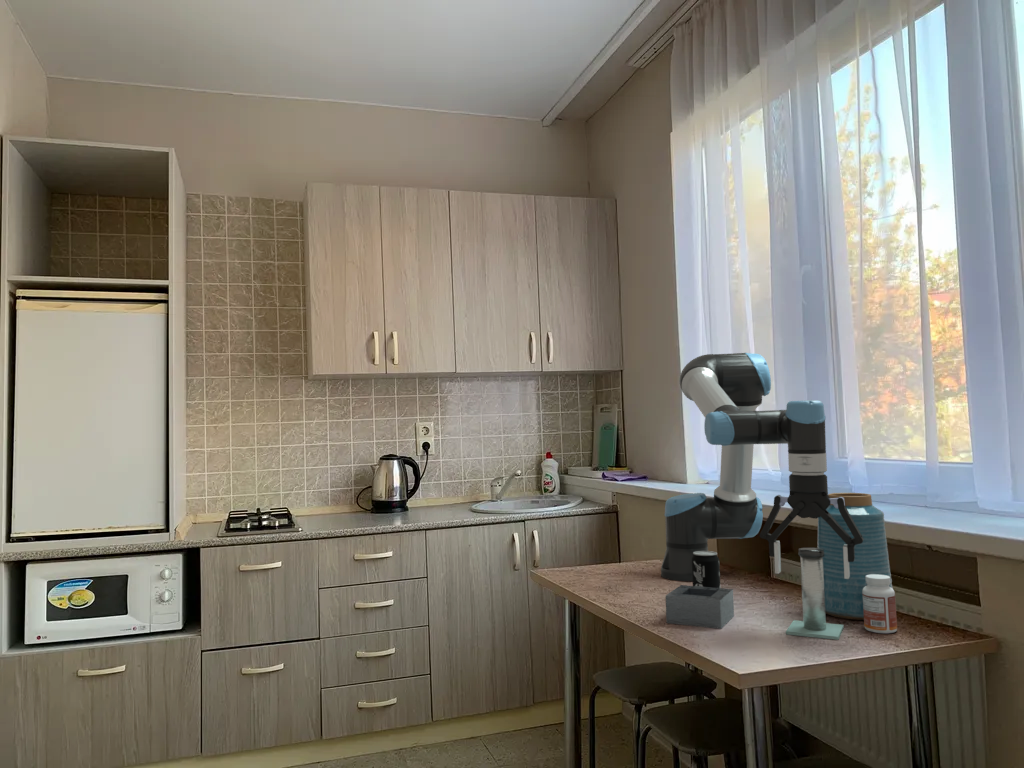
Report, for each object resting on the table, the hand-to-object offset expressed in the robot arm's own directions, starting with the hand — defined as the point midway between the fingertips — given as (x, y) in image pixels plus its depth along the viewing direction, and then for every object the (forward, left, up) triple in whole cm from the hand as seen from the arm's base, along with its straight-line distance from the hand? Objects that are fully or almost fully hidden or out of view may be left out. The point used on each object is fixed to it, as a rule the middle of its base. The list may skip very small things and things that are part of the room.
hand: (811, 575), depth 159 cm
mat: (0, 0, -12) cm, 11 cm away
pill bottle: (-6, +12, -12) cm, 18 cm away
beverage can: (-17, -27, -12) cm, 34 cm away
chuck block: (0, -24, -11) cm, 26 cm away
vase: (-20, +6, -12) cm, 24 cm away
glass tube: (0, 0, -11) cm, 11 cm away
